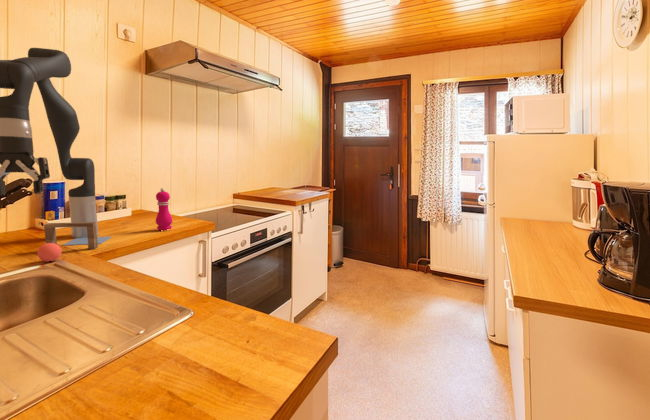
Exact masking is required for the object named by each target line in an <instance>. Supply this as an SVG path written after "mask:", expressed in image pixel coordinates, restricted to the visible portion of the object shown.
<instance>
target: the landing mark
mask: <svg viewBox="0 0 650 420" xmlns="http://www.w3.org/2000/svg"><path fill="white" fill-rule="evenodd" d="M111 238H112V236H97V242H98V245H101V244H103V243H105V242H107V241H108V240H110V239H111ZM81 245H88V237H84V238H74V239H72V240H70V241H67V242H66V243H63V244H62V246H81Z"/></svg>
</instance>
